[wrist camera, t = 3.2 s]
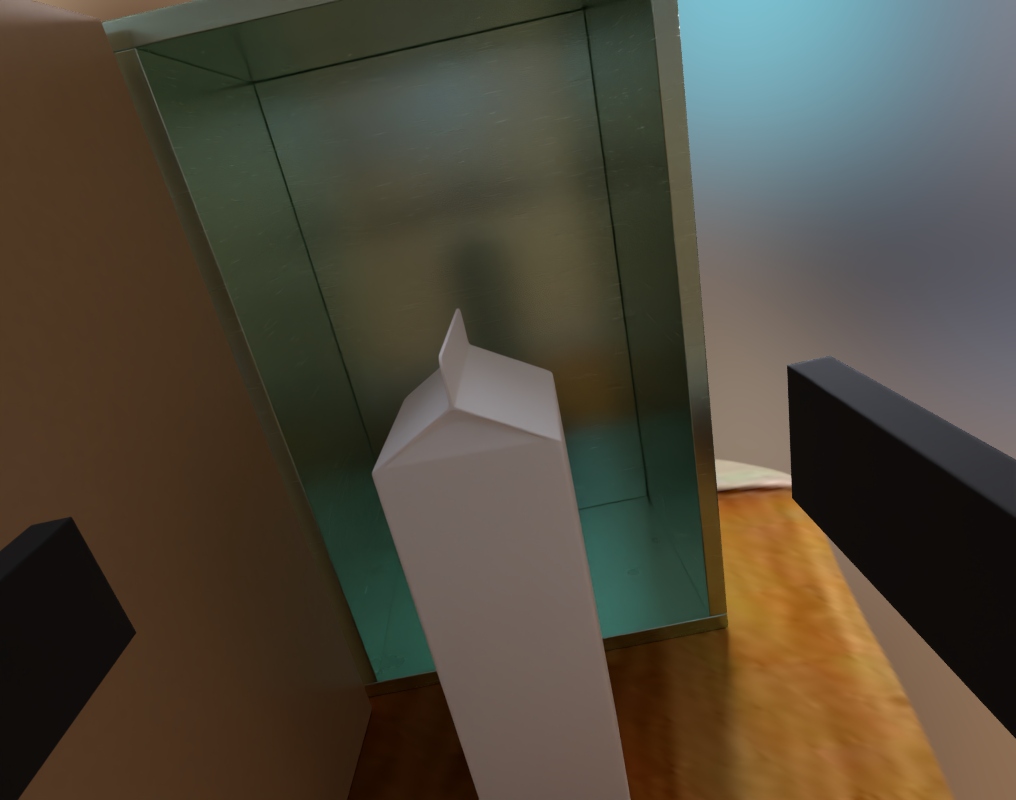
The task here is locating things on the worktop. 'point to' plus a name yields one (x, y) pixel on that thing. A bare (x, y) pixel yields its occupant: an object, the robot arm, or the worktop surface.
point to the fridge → (450, 264)
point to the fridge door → (151, 458)
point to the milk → (503, 576)
